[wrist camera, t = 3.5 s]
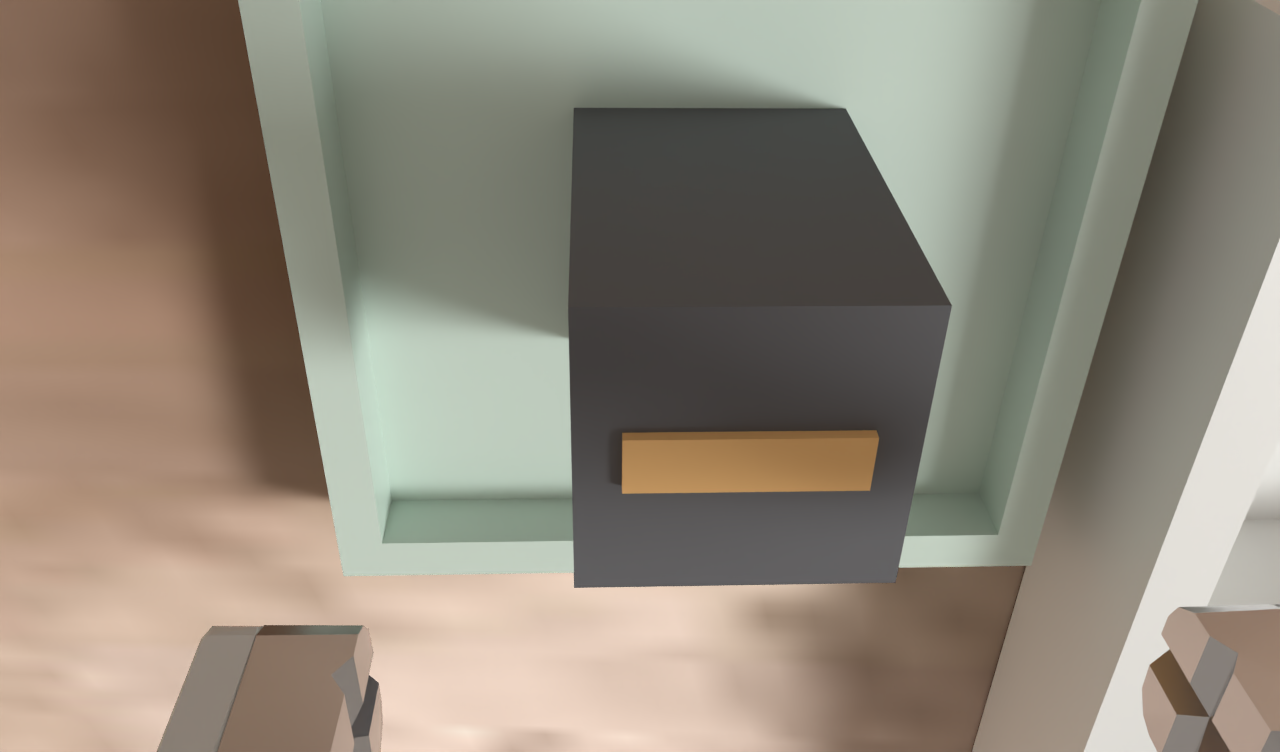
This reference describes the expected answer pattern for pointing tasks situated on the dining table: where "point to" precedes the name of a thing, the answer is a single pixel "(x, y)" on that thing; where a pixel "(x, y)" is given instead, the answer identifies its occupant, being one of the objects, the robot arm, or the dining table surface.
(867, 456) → the dark grey block
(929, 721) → the dining table surface
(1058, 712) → the white power strip
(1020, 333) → the tray
